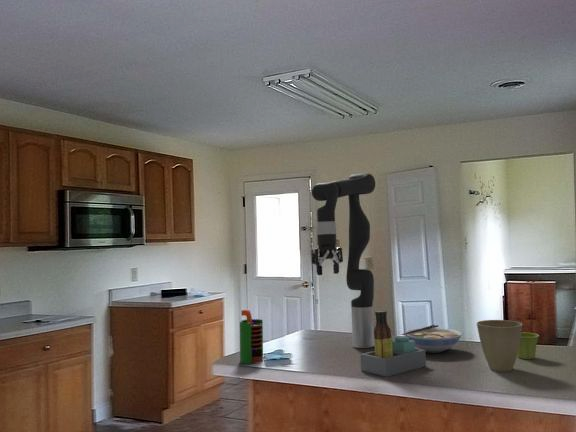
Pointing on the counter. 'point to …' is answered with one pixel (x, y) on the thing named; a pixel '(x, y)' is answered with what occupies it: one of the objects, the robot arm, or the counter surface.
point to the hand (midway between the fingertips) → (328, 274)
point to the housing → (392, 362)
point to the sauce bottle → (382, 336)
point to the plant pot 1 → (500, 342)
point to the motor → (251, 339)
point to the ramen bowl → (433, 338)
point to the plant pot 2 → (527, 345)
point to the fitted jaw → (403, 345)
